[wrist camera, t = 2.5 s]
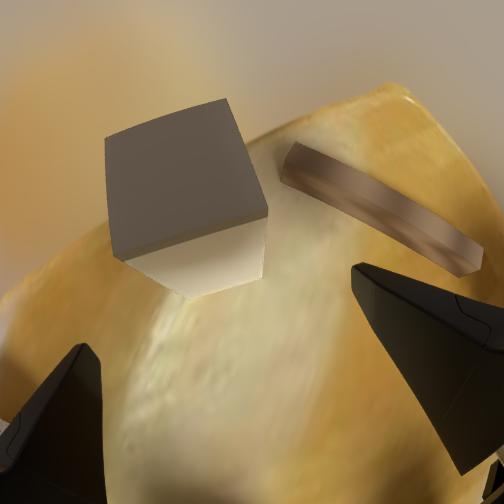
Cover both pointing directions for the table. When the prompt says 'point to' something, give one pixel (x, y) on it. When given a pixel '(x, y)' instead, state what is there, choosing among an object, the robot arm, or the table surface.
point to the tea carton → (186, 201)
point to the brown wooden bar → (381, 209)
